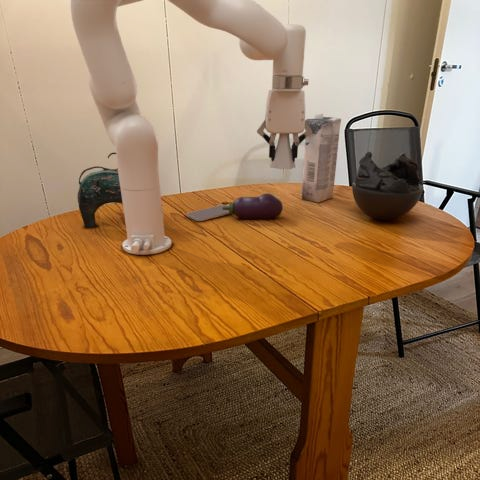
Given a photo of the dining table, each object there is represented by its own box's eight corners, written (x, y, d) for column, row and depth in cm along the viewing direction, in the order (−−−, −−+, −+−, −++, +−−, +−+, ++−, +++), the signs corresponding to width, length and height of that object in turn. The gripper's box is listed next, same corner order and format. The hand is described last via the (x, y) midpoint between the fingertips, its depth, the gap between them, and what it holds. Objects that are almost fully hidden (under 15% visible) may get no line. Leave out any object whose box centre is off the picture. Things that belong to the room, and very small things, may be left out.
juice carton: (336, 198, 155) (345, 113, 142) (319, 204, 149) (326, 116, 135) (315, 193, 161) (321, 111, 147) (297, 199, 154) (302, 114, 140)
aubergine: (283, 221, 133) (284, 196, 130) (222, 222, 133) (222, 197, 129) (281, 214, 140) (281, 190, 136) (223, 214, 139) (222, 191, 136)
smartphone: (185, 213, 138) (224, 204, 146) (185, 216, 138) (224, 207, 146) (198, 219, 133) (238, 209, 141) (198, 222, 133) (238, 212, 141)
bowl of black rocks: (430, 221, 133) (445, 155, 123) (386, 234, 123) (398, 163, 114) (378, 205, 147) (387, 145, 138) (334, 216, 137) (341, 152, 128)
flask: (293, 170, 116) (295, 129, 111) (266, 168, 118) (267, 128, 113) (298, 165, 122) (300, 126, 117) (272, 164, 124) (274, 125, 119)
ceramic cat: (149, 217, 138) (141, 149, 128) (152, 223, 132) (144, 153, 122) (82, 224, 132) (68, 153, 122) (82, 230, 127) (68, 157, 117)
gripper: (318, 84, 114) (311, 158, 123) (252, 83, 113) (250, 158, 122) (323, 85, 107) (316, 163, 116) (253, 84, 107) (251, 163, 116)
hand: (282, 160), depth 119 cm, fingers closed on flask, 4 cm apart
